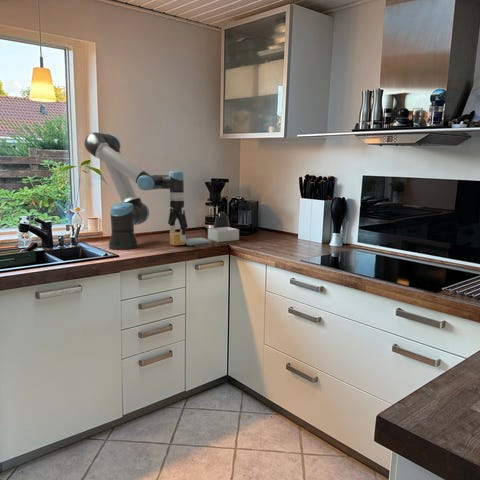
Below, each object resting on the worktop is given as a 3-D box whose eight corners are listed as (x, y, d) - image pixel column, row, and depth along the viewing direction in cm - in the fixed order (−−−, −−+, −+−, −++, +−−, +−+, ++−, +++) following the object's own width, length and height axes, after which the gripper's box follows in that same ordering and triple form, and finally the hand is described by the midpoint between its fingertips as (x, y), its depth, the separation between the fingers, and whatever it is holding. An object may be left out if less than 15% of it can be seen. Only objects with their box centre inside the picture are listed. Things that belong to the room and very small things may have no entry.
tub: (218, 243, 248) (218, 231, 247) (208, 240, 258) (207, 228, 257) (238, 241, 256) (239, 229, 254) (228, 238, 266) (228, 227, 264)
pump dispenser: (210, 236, 275) (209, 211, 272) (222, 234, 282) (222, 210, 279) (220, 238, 267) (220, 213, 265) (233, 236, 274) (233, 212, 272)
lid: (177, 248, 235) (176, 235, 233) (167, 244, 245) (167, 232, 244) (211, 244, 246) (211, 232, 245) (201, 241, 256) (201, 229, 255)
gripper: (193, 201, 229) (194, 241, 233) (174, 198, 250) (174, 235, 253) (180, 202, 225) (181, 242, 229) (161, 198, 246) (162, 236, 249)
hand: (177, 238), depth 241 cm, fingers open, 13 cm apart
